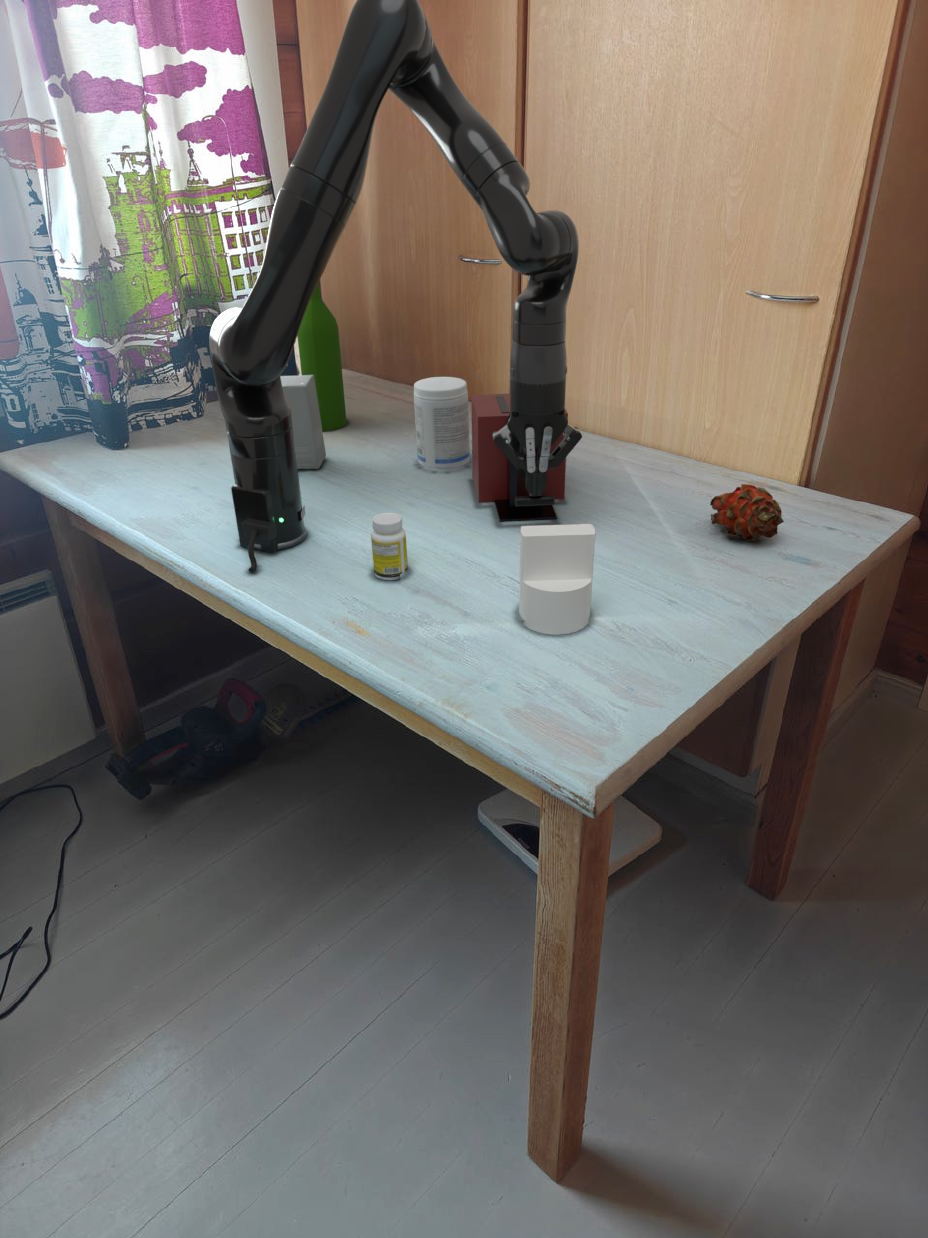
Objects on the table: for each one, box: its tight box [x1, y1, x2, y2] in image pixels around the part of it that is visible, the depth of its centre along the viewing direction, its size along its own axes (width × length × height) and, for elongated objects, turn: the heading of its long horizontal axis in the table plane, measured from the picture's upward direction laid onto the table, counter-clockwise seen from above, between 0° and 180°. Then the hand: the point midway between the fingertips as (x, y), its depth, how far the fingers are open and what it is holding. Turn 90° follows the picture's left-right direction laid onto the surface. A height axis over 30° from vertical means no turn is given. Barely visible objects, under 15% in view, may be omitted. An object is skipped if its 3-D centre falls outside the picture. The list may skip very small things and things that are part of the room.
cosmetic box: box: [280, 375, 327, 470], centre depth 157 cm, size 8×7×16 cm
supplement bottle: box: [370, 512, 409, 581], centre depth 120 cm, size 5×5×8 cm
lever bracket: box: [493, 432, 558, 523], centre depth 136 cm, size 10×9×14 cm
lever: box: [515, 442, 556, 506], centre depth 131 cm, size 14×6×2 cm, turn 5°
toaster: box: [470, 393, 569, 504], centre depth 144 cm, size 12×14×15 cm
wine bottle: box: [293, 281, 347, 432], centre depth 173 cm, size 9×9×32 cm
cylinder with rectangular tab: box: [518, 523, 596, 636], centre depth 108 cm, size 9×9×12 cm
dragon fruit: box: [707, 483, 785, 542], centre depth 130 cm, size 8×8×12 cm
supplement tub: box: [413, 376, 471, 469], centre depth 156 cm, size 10×10×15 cm
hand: (535, 494), depth 127 cm, fingers closed
